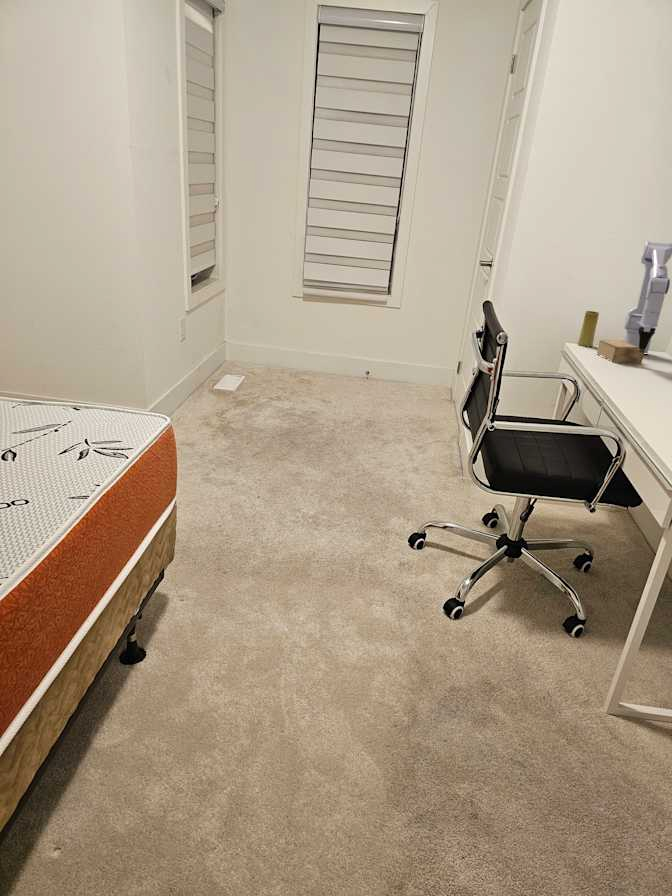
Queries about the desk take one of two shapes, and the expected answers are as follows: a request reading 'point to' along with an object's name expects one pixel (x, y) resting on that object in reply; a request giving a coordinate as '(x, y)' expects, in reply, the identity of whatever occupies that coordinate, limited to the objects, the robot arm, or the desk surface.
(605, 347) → the carton
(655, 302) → the robot arm
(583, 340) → the vase
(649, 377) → the desk surface
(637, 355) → the wooden paddle
